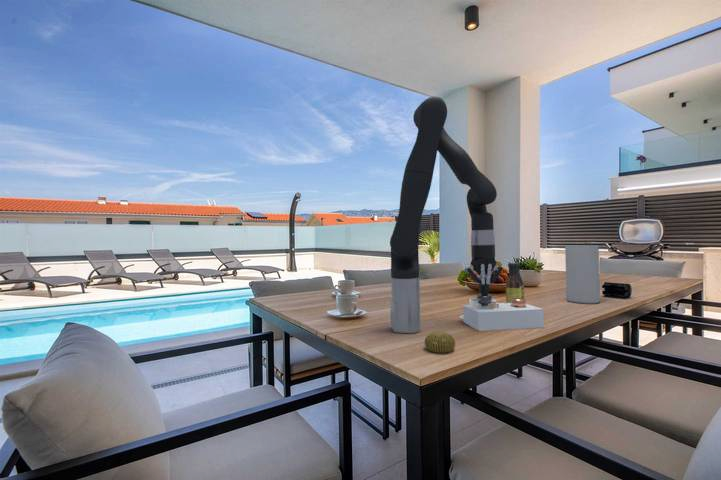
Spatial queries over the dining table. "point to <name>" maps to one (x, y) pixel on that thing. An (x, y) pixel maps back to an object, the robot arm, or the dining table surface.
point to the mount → (503, 317)
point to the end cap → (616, 290)
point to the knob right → (518, 302)
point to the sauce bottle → (514, 283)
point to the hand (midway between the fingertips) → (484, 295)
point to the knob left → (484, 300)
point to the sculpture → (439, 342)
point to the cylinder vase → (582, 274)
